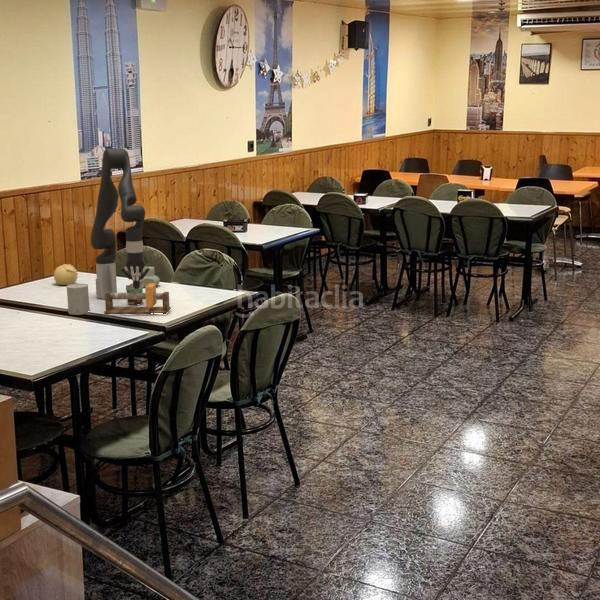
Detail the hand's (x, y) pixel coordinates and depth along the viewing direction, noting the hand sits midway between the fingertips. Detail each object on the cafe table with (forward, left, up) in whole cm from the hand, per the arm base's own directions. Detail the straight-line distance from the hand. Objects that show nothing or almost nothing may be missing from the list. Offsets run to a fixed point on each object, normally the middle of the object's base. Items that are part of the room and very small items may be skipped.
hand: (136, 288), depth 387 cm
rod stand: (0, 0, -11) cm, 11 cm away
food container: (-4, +17, -11) cm, 21 cm away
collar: (+6, 0, -7) cm, 10 cm away
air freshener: (-7, +55, -11) cm, 57 cm away
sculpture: (-52, +60, -11) cm, 80 cm away
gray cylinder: (-27, 0, -11) cm, 29 cm away
